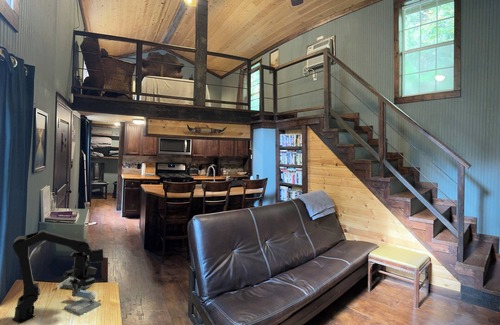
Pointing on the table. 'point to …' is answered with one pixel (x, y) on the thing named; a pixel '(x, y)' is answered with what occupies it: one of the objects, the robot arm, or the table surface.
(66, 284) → the graphics card
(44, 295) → the table surface
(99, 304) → the lid
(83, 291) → the lever
